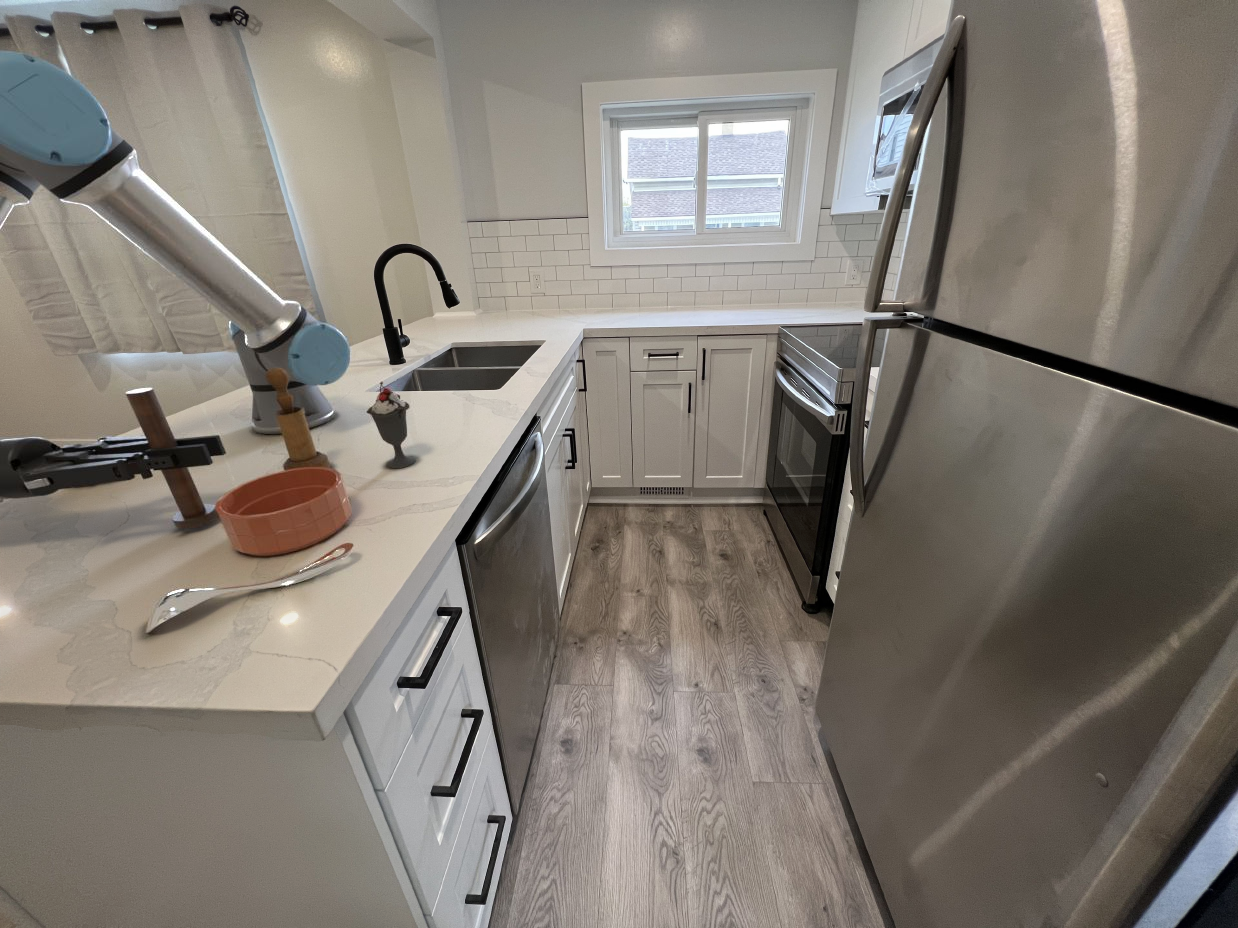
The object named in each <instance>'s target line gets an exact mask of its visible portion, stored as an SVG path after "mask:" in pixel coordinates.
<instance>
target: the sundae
mask: <svg viewBox="0 0 1238 928" xmlns="http://www.w3.org/2000/svg"><path fill="white" fill-rule="evenodd" d="M383 384H384V382H383V381H381V382H380V383H379V385H380V387H379V393H378V394H377V396H376V398H375V402H374V404H373V405H371V406H370V407H369V408H368V409H367V410H366V412H365V413H366V414H369V415H370V416H371V417H372V420H373V422H374V424H375V427H376V428H377V430H378V431H377V432H378V433H379V435H380V438H381V439H382V441H384V442H385V443H386V444H388V445H391V446H392V447H393V450H394V457H393V458H392V459H390V460H388V461H387V462H386V463H385V466H386V467H387V468H388V469H397V470H398V469H404V468H407V467H409V466H412V465H413V464H415V463H416V461H417V459H416V457H414V456H411V455H405V454H404V452H403V449H402V444H403V442H404V441H406V439H407V437H408V422H407V411H408V410H409V409H410V408H411V407H410V404H409V403H408V402H406V401H404V400H402V399H401V395H399V394H397V393H396V392H395V391H392V390H391V389H390V388H388V387H387V388H385V386H383ZM382 388H383V390H382Z"/></svg>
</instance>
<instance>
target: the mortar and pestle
mask: <svg viewBox="0 0 1238 928" xmlns="http://www.w3.org/2000/svg"><path fill="white" fill-rule="evenodd" d="M266 380H267V382H268V383H269V384H270V385H271V386H272V387H273V388H275V389H276V391H277V397H276V400H277V402H278V404H279V405H280V406H281V408H282V409H281V410H278V411H277V412H275V415H276V418H277V421H278V424H279V427H280V430H281V435H282V438H283V441H284V445H285V447H286V451H287V455H288V458H287V459H286V460H285V462H284V463H283V464H282V469H283V471H284V470H289V469H295V468H304V467H326V468H331V464H330V461H329V458H328V456H327V454H325V453H323V452H320V451H318V450H316V447H315V444H314V441H313V438H312V434H311V431H310V428H309V427H308V424H307V421H306V418H305V415H304V411H303V408H301V407H293V396H292V395H291V394H289V393H288V391H287V386H288V382H289V375H288V373H287V372H286V371H285V370H284V369H282V368H272V369H270V370H268V371H267V373H266ZM331 469H332V468H331Z"/></svg>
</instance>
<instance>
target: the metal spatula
mask: <svg viewBox="0 0 1238 928" xmlns="http://www.w3.org/2000/svg"><path fill="white" fill-rule="evenodd" d="M343 550H344V551H343ZM354 550H355V545H354V543H352V542H345V543H343V544H340V545H338V546H337V547H335V548H333V549H331V550H330V551H328V552H327V553H326V554H324V555H322V556H321V557H319V558H318V559H316V560H314V561H313V562H311V563H310V564H308V565H306V566H304V567H303V568H301V569H299V570H296V571H295V572H293V573H291V574H289V575H286V576H284V577H281V578H277V579H274V580H271V581H270V580H269V581H266V582H261V583H255V584H247V585H237V586H226V587H189V588H187V587H186V588H179V589H176V590H172V591H169V592H168V593H166V594H164V595H163V596H162V597H160V599H158V600H157V602H156V603H155V605H154V606H153V608H152V609H151V612H150V614H149V617H148V620H147V624H146V629H145V633H146V634H149V633H151V632H152V631H154V630H155V629H156V628H157V627H159V626H160V625H162V624H164V623H165V622H167V621H169V620H170V619H173V618H174V617H176V616H178V615H180V614H182V613H184V612H186V611H188V610H190V609H191V608H195V607H196V606H198V605H199V604H202V603H204V602H206V601H208V600H211V599H214V598H217V597H220V596H223V595H228V594H231V593H238V592H239V593H240V592H245V591H254V590H255V591H256V590H264V589H265V590H266V589H267V590H268V589H274V588H281V587H282V588H283V587H285V586H286V587H287V586H291V585H295V584H298V583H302V582H304V581H307V580H310V579H312V578H314V577H317V576H319V575H321V574H323V573H325V572H327V571H328V570H331V569H332V568H334V567H336V566H337V565H338V564H340V563H342V562H344V561H345V560H346V559H347V558H348V557H349V556H351V554H352V552H353V551H354ZM339 551H343V552H342V553H341V554H340V555H338V556H334V555H335V554H336V553H338V552H339Z"/></svg>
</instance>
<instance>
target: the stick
mask: <svg viewBox="0 0 1238 928" xmlns="http://www.w3.org/2000/svg"><path fill="white" fill-rule="evenodd" d="M124 394H125V397H126V398H127V400H128V402H129V404H130V407H131V409H132V411H133V413H134V415H135V417H136V420H137V422H138V424H139V426H140V428H141V431H142V432H143V436H145V437H146V439H147V441H148V443H149V446H150V448H151V449H156V448H166V447H177V446H178V445H177V443H176V440H175V439H176V438H175V435H174V434H173V431H172V429H171V426H170V425H169V422H168V420H167V418H166V415H165V414H164V411H163V407H162V406H161V404H160V402H159V399H158V398H157V395H156V393H155V390H154V388H153V387H143V388H142V387H141V388H136V389H132V390H128V391H126V392H125V393H124ZM160 471H161V473H162V475H163V478H164V480H165V482H166V485H167V486H168V488H169V490H170V493H171V495H172V497H173V499H174V501H175V503H176V506H177V508H178V510H179V511H178V512H177V513H175V514H174V515H173V516H172V517H171V520H172V522H173V524H174V526H175V528H177V529H181V530H186V529H193V528H196V527H200V526H203V525H206V524H208V523H210V522H212V521H214V520H215V519H216V518H218V515H217V513H216V510H215V505H216V504H212V503H204V502H203V499H202V497H201V495H200V493H199V490H198V488H197V486H196V483H195V481H194V478H193V477H192V475H191V472H190V470H189V467H186V468H176V469H166V470H160Z"/></svg>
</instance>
